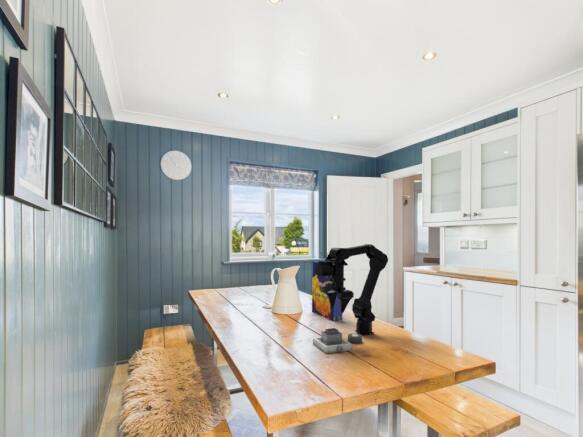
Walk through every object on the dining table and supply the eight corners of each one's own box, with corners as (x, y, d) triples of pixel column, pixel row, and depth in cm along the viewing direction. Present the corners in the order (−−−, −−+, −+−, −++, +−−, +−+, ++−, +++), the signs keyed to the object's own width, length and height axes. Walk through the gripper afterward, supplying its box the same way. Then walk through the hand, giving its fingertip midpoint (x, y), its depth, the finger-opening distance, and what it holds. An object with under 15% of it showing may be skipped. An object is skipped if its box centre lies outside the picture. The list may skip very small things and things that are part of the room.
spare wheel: (356, 338, 145) (356, 332, 145) (364, 342, 139) (364, 336, 139) (345, 339, 142) (345, 333, 143) (352, 344, 137) (352, 338, 137)
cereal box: (311, 312, 191) (312, 261, 193) (320, 311, 194) (321, 260, 195) (333, 321, 172) (333, 264, 173) (342, 320, 175) (342, 264, 176)
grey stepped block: (336, 342, 137) (336, 327, 137) (342, 345, 132) (342, 330, 133) (321, 343, 134) (321, 328, 135) (326, 347, 130) (327, 332, 130)
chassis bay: (335, 339, 142) (335, 333, 142) (353, 351, 128) (353, 345, 129) (311, 342, 138) (311, 336, 138) (327, 355, 124) (327, 348, 124)
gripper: (312, 273, 152) (312, 307, 152) (331, 279, 135) (331, 317, 134) (333, 272, 156) (333, 305, 156) (354, 278, 139) (354, 314, 138)
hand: (337, 310), depth 146 cm, fingers open, 9 cm apart
